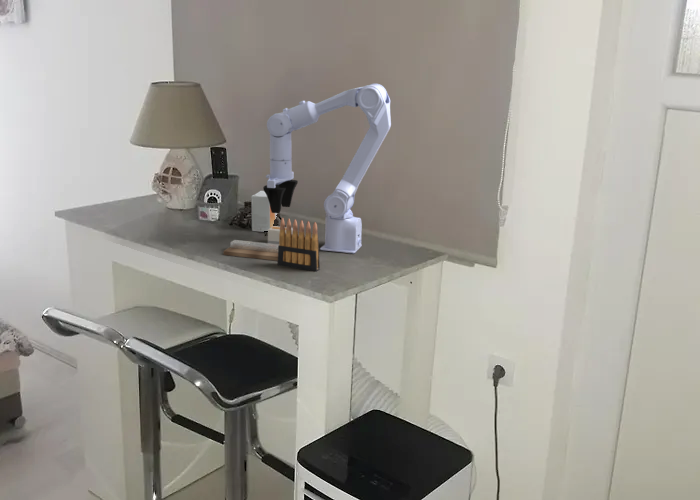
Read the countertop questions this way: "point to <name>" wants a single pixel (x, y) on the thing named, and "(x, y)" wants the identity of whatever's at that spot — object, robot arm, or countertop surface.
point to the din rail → (254, 246)
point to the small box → (261, 212)
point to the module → (275, 234)
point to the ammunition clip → (298, 246)
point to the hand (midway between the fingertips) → (281, 209)
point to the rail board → (251, 254)
